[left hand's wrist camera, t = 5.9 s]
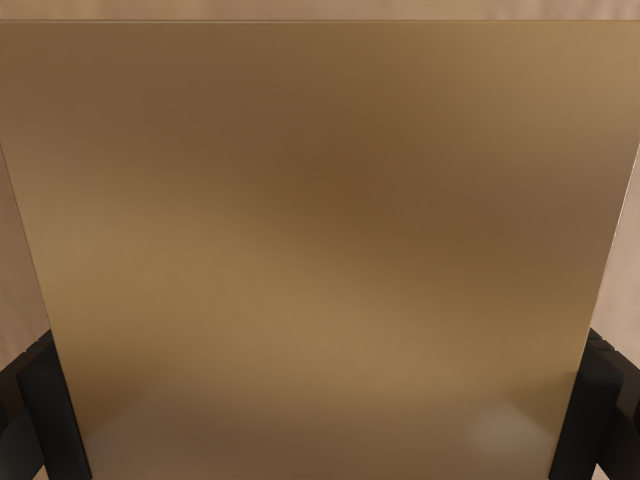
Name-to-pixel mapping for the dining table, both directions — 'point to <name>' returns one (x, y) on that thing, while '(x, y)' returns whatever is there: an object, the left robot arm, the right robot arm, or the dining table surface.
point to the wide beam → (320, 236)
